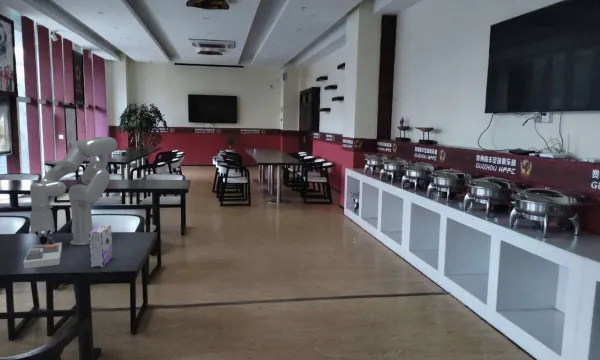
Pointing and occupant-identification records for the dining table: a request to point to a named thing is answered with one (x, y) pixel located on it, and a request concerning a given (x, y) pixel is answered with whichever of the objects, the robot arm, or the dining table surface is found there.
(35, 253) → the grey button
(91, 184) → the robot arm
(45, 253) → the panel
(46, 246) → the terracotta button
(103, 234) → the candy box
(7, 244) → the dining table surface
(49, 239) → the dark slider
